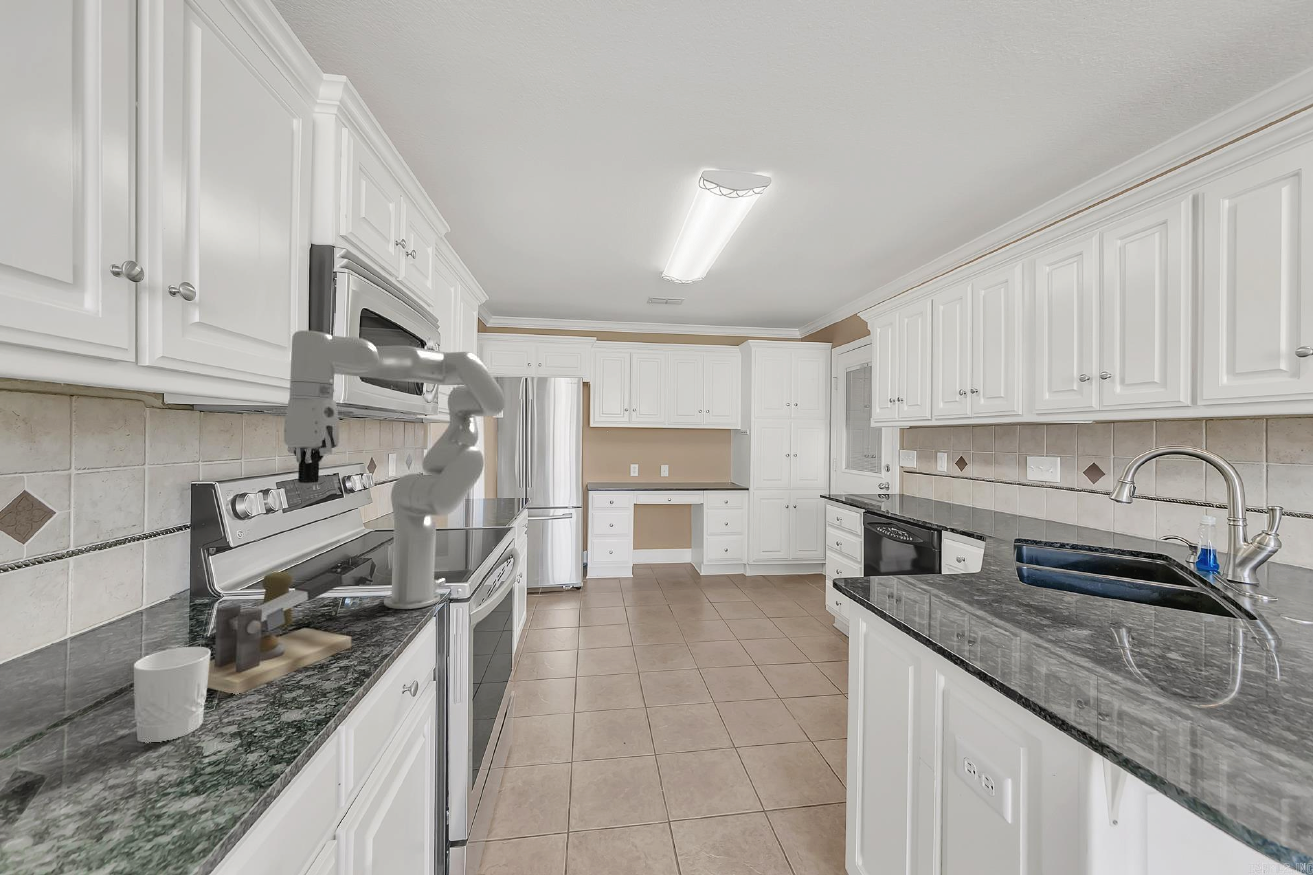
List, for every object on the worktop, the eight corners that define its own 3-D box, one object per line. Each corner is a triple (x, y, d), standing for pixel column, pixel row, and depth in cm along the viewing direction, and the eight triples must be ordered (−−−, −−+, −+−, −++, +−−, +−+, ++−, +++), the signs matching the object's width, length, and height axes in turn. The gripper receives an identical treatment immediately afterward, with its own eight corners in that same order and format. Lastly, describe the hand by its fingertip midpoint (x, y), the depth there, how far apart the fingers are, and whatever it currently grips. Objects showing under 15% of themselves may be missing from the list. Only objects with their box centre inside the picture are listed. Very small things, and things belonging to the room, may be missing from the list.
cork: (274, 630, 110) (277, 577, 110) (250, 627, 112) (252, 575, 112) (299, 621, 116) (301, 570, 116) (276, 618, 118) (278, 568, 118)
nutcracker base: (304, 637, 107) (307, 580, 107) (350, 647, 104) (353, 587, 104) (184, 681, 87) (187, 611, 87) (236, 694, 84) (239, 621, 84)
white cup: (128, 729, 73) (131, 656, 73) (203, 709, 79) (206, 642, 79) (132, 753, 68) (135, 675, 68) (212, 730, 74) (215, 658, 74)
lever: (330, 591, 108) (327, 572, 107) (343, 593, 107) (341, 574, 106) (230, 640, 90) (227, 618, 89) (246, 643, 89) (242, 621, 88)
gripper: (355, 394, 110) (352, 483, 110) (301, 394, 115) (298, 479, 115) (323, 391, 103) (319, 486, 103) (267, 390, 108) (263, 481, 108)
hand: (308, 482), depth 109 cm, fingers closed
